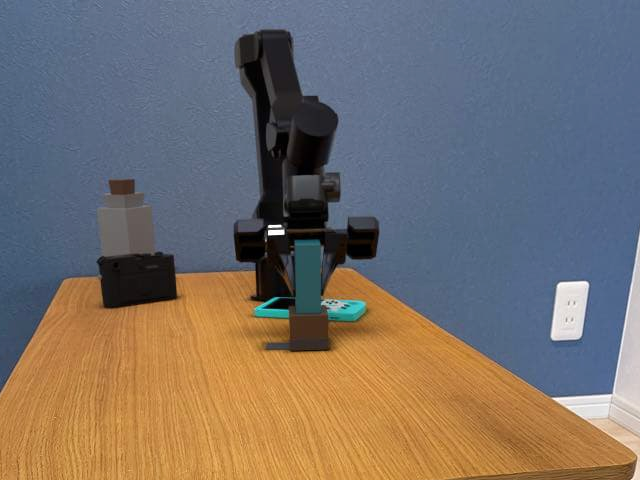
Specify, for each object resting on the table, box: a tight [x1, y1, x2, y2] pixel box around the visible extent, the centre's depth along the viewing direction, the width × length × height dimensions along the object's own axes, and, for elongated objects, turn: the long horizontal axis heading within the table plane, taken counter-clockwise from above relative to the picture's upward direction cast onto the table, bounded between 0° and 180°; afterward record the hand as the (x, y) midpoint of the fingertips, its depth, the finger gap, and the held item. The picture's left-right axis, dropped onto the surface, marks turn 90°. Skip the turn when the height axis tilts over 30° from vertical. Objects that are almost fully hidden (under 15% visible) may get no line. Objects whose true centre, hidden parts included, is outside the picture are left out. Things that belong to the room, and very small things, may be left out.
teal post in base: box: [288, 239, 330, 352], centre depth 110 cm, size 6×5×13 cm
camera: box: [96, 251, 178, 309], centre depth 142 cm, size 14×7×8 cm, turn 124°
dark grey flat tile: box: [265, 341, 290, 351], centre depth 113 cm, size 4×4×1 cm
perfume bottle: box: [96, 178, 156, 257], centre depth 153 cm, size 7×7×18 cm
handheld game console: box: [254, 297, 367, 322], centre depth 132 cm, size 10×16×1 cm, turn 72°
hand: (308, 294), depth 109 cm, fingers closed on teal post in base, 3 cm apart
